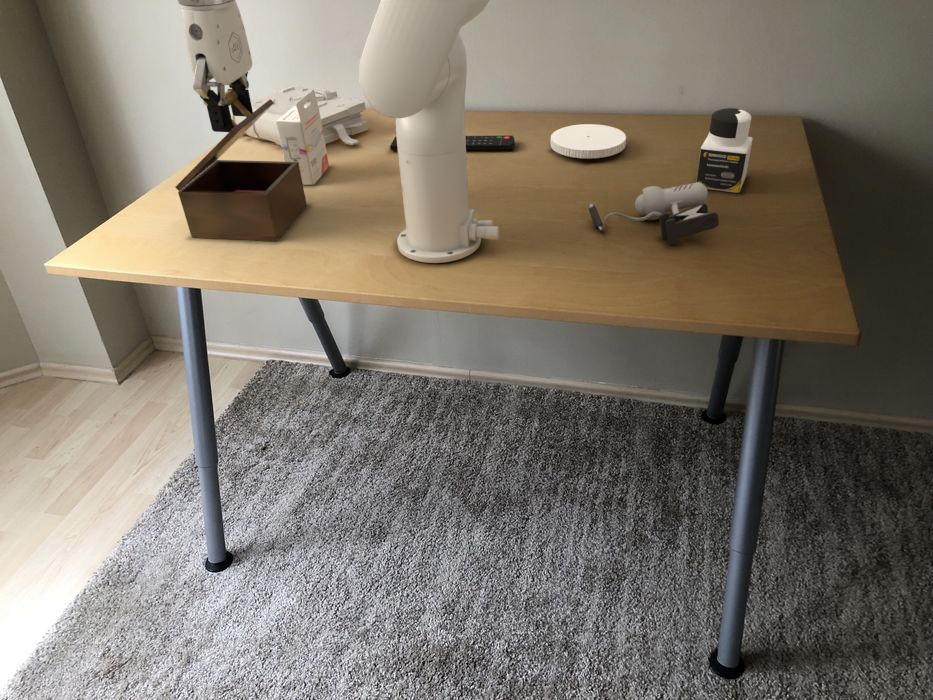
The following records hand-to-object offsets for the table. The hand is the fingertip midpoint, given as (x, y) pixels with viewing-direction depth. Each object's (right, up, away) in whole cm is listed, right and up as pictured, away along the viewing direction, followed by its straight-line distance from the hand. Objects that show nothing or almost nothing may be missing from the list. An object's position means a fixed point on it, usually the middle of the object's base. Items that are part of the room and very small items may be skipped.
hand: (233, 122), depth 110 cm
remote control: (+33, +5, +33) cm, 46 cm away
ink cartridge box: (+6, -3, +24) cm, 25 cm away
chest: (0, -13, +10) cm, 16 cm away
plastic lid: (+58, +3, +28) cm, 65 cm away
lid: (-2, -3, +3) cm, 4 cm away
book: (+2, +10, +42) cm, 44 cm away
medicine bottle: (+78, -6, +13) cm, 80 cm away
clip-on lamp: (+63, -16, +1) cm, 65 cm away
